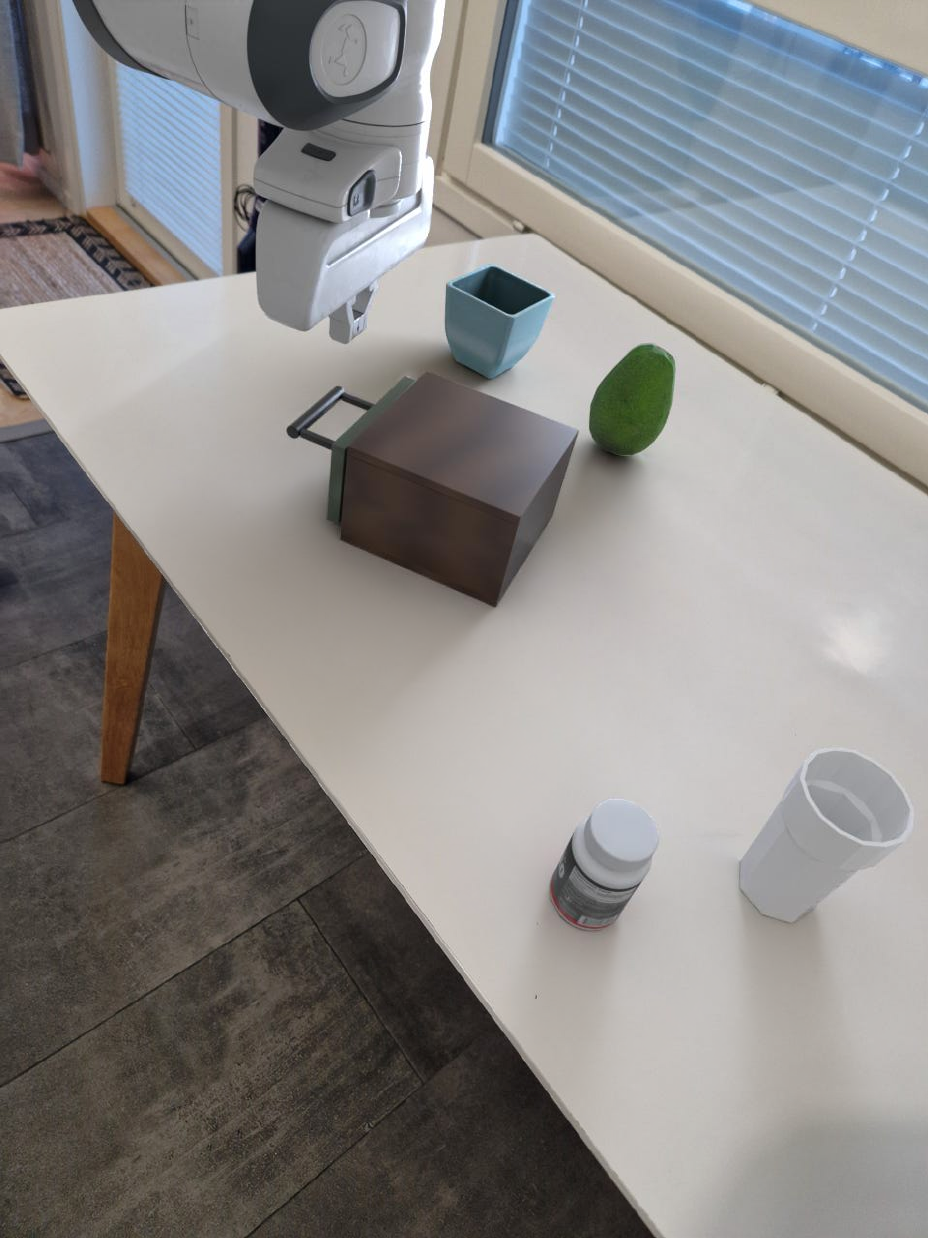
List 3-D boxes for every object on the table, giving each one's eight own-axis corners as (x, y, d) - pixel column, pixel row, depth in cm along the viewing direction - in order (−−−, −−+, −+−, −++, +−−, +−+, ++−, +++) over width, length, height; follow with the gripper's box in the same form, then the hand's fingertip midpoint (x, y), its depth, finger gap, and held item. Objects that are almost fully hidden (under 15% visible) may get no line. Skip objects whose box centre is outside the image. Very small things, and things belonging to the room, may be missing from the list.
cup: (799, 837, 60) (879, 745, 52) (841, 929, 56) (936, 843, 48) (712, 842, 59) (782, 748, 51) (749, 937, 54) (832, 850, 46)
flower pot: (538, 368, 99) (557, 293, 93) (495, 394, 94) (512, 317, 87) (477, 336, 102) (491, 261, 96) (431, 360, 96) (443, 283, 90)
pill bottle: (572, 848, 57) (608, 776, 51) (634, 892, 55) (679, 823, 49) (533, 900, 54) (568, 830, 48) (598, 948, 52) (642, 883, 46)
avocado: (650, 479, 88) (693, 374, 79) (575, 459, 88) (609, 352, 79) (654, 437, 93) (693, 334, 85) (583, 418, 93) (616, 314, 85)
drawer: (269, 495, 74) (270, 418, 69) (343, 426, 83) (349, 353, 78) (469, 582, 71) (487, 508, 66) (524, 501, 80) (544, 430, 74)
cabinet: (339, 539, 73) (347, 445, 67) (412, 459, 83) (426, 370, 76) (495, 607, 71) (520, 517, 64) (552, 516, 81) (579, 429, 74)
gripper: (390, 103, 67) (374, 277, 77) (236, 173, 53) (240, 374, 63) (464, 128, 66) (438, 300, 75) (327, 205, 52) (316, 405, 62)
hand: (347, 334), depth 69 cm, fingers closed
